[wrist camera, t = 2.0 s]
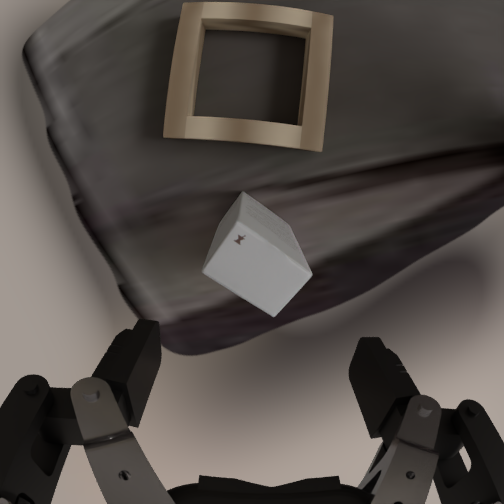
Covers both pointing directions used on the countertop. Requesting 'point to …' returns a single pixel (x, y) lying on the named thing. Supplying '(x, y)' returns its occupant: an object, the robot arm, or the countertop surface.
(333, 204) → the countertop surface
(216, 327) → the countertop surface
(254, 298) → the skincare box
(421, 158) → the countertop surface
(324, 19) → the birch stand
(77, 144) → the countertop surface
